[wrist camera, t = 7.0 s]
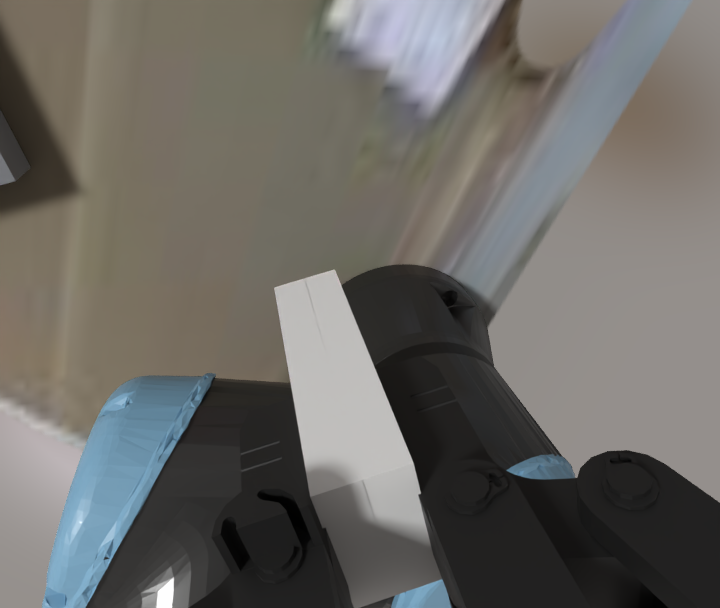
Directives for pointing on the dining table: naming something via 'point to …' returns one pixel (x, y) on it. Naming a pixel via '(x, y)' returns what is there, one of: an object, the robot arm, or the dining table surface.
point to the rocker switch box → (10, 155)
